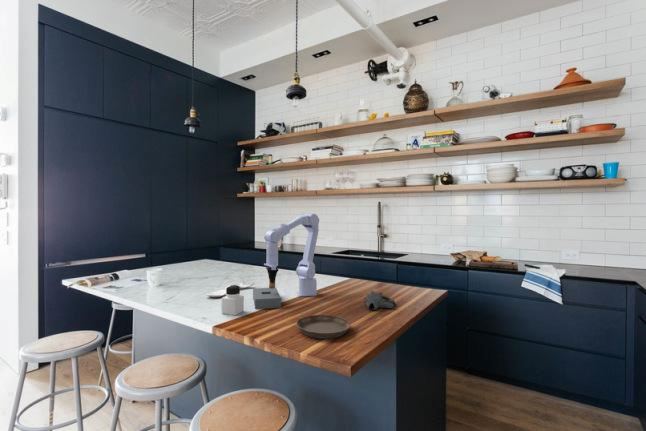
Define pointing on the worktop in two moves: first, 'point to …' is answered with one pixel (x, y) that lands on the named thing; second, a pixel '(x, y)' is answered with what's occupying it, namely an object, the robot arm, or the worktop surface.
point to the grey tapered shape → (378, 301)
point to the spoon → (223, 292)
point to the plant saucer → (323, 326)
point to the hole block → (266, 298)
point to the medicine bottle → (232, 301)
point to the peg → (271, 285)
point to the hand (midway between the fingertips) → (272, 282)
